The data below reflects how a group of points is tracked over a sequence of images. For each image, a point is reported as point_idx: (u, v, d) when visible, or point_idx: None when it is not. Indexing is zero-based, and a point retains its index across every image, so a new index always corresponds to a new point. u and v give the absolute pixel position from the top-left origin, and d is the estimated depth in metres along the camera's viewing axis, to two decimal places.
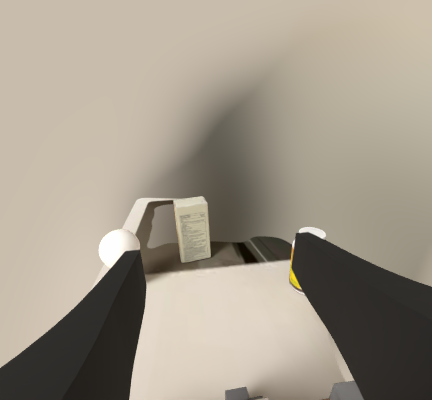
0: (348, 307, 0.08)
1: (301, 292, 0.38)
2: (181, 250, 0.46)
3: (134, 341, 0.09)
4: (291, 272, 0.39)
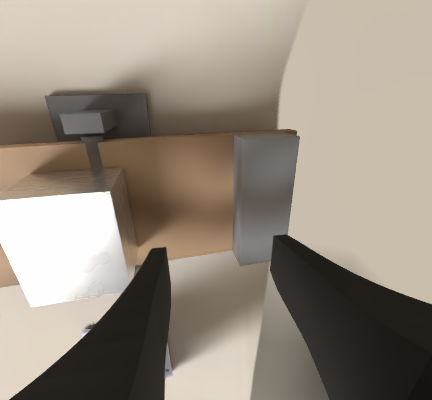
0: (318, 312, 0.08)
1: None
2: None
3: (165, 336, 0.09)
4: None
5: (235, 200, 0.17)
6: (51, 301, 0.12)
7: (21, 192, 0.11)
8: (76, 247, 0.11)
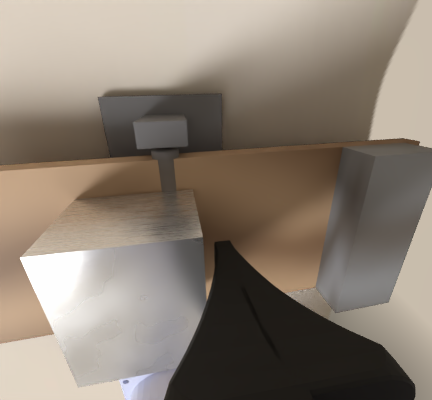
0: None
1: None
2: None
3: None
4: None
5: (333, 230, 0.13)
6: (105, 379, 0.09)
7: (72, 235, 0.07)
8: (145, 312, 0.08)
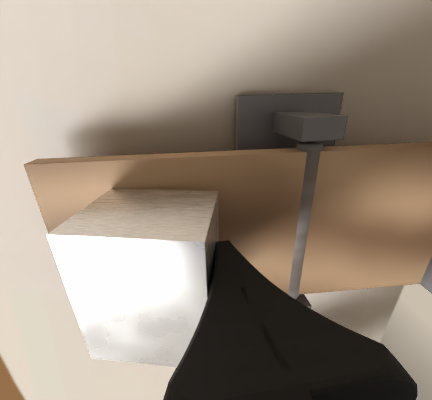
0: None
1: None
2: None
3: None
4: None
5: None
6: (112, 358, 0.10)
7: (93, 221, 0.08)
8: (148, 305, 0.08)
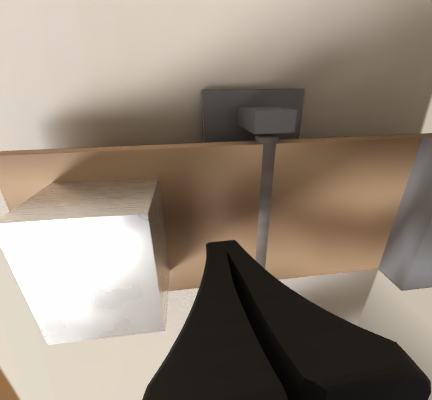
0: None
1: None
2: None
3: None
4: None
5: (405, 214, 0.14)
6: (70, 339, 0.10)
7: (39, 210, 0.09)
8: (102, 279, 0.09)
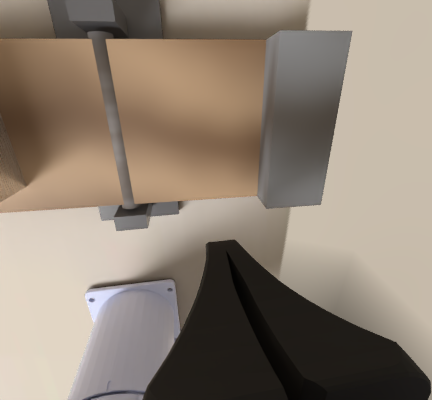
0: None
1: None
2: None
3: None
4: None
5: (264, 127, 0.14)
6: None
7: None
8: None
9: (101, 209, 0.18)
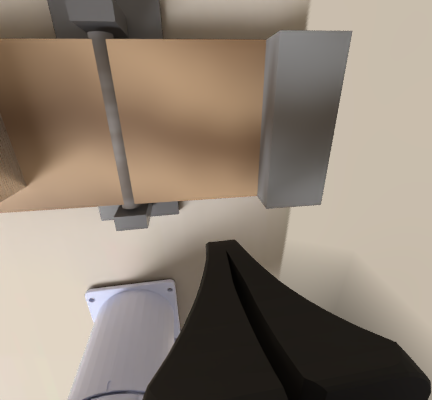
0: None
1: None
2: None
3: None
4: None
5: (264, 127, 0.14)
6: None
7: None
8: None
9: (101, 209, 0.18)
